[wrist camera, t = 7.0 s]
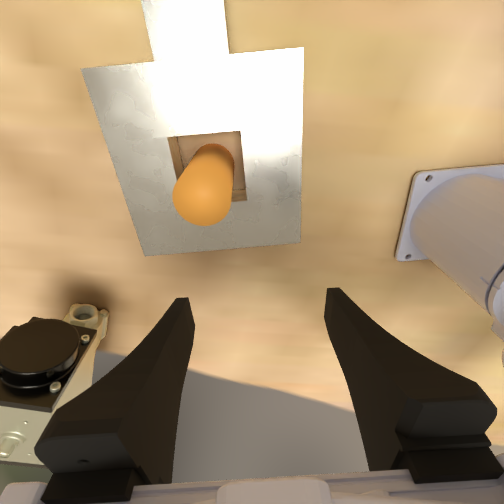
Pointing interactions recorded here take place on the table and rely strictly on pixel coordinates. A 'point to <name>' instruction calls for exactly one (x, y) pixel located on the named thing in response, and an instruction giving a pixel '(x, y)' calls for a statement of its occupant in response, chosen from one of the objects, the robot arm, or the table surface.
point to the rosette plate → (203, 128)
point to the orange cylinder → (205, 186)
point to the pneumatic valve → (44, 375)
